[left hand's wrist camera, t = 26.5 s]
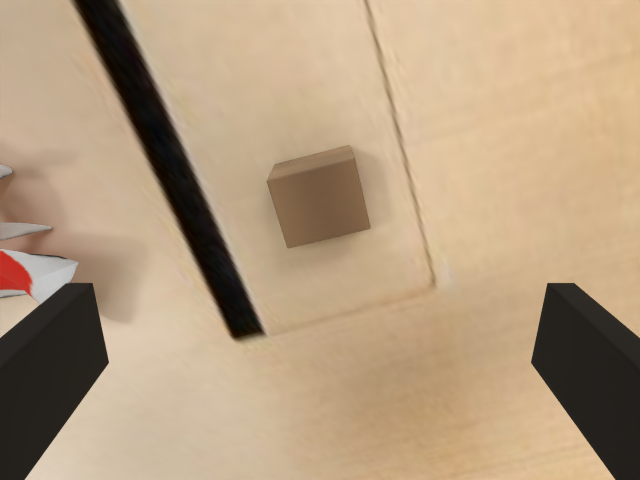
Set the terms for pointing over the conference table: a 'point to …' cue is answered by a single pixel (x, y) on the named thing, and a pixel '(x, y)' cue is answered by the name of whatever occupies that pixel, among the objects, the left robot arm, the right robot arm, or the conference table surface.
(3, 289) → the fish
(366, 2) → the conference table surface
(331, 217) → the brick
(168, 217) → the conference table surface
